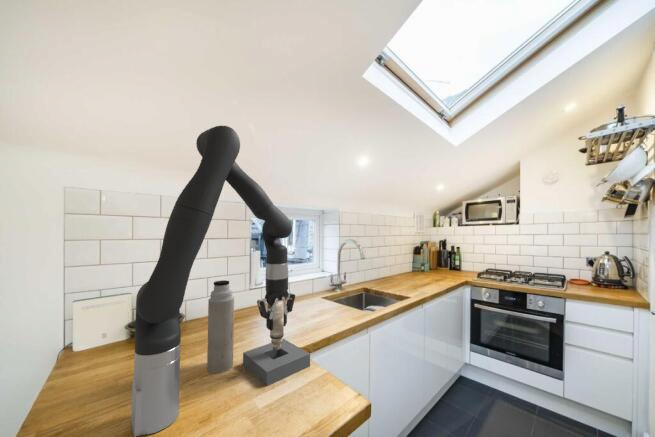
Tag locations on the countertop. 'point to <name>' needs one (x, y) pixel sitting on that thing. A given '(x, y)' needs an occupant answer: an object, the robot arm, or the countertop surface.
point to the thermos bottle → (220, 328)
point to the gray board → (275, 361)
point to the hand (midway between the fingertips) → (276, 327)
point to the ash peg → (277, 326)
